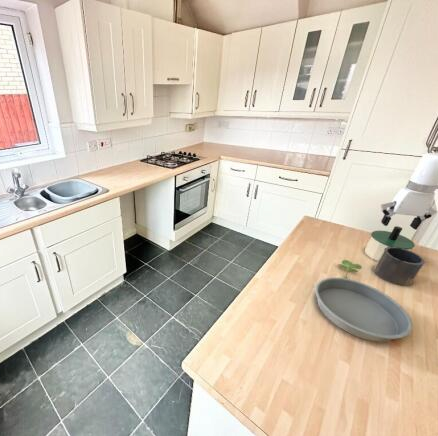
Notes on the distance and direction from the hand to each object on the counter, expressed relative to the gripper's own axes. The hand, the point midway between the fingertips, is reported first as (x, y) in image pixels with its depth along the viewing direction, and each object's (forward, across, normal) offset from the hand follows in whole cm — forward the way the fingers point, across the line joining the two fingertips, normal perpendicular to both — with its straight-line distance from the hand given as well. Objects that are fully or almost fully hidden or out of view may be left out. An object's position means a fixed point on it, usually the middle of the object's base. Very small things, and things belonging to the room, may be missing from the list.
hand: (398, 226), depth 99 cm
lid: (+7, 0, 0) cm, 7 cm away
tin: (+15, 0, 0) cm, 15 cm away
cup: (+15, +2, +14) cm, 21 cm away
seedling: (+16, +20, +17) cm, 30 cm away
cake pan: (+16, +24, +39) cm, 48 cm away
